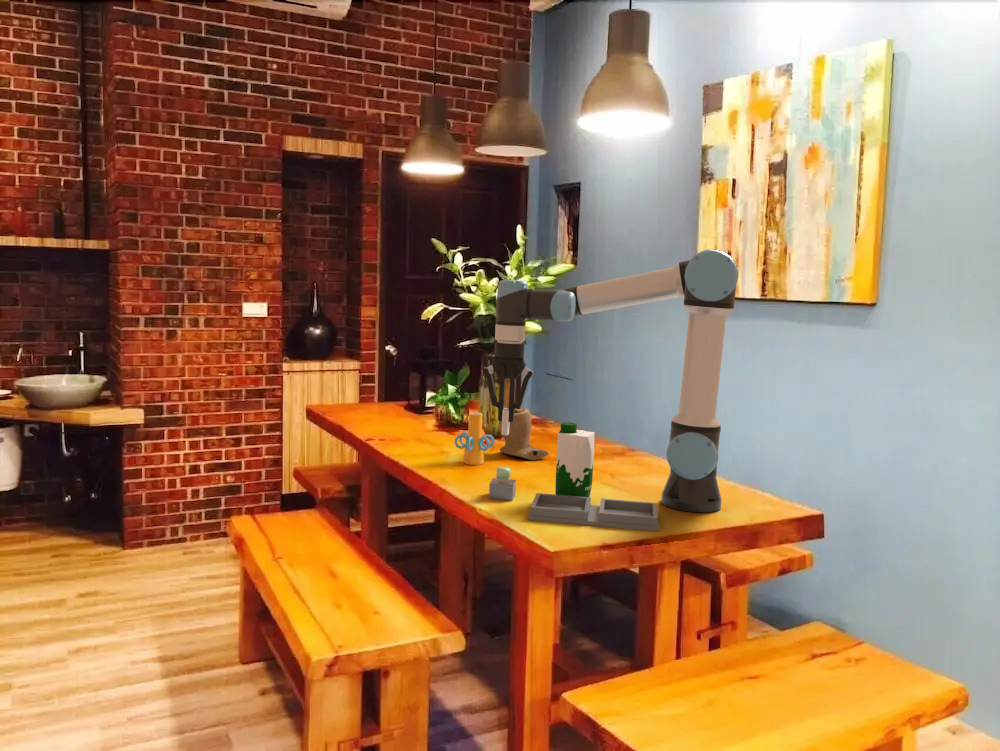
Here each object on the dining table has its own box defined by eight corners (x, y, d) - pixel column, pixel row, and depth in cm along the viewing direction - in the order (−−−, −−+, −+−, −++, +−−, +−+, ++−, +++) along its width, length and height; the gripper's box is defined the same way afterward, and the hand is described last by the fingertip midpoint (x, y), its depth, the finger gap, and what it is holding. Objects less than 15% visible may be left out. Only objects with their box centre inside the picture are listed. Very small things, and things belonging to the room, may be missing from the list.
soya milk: (559, 495, 230) (564, 420, 228) (593, 500, 227) (598, 423, 225) (550, 503, 222) (555, 425, 219) (585, 508, 219) (590, 429, 216)
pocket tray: (656, 514, 216) (657, 502, 216) (658, 531, 202) (659, 518, 202) (535, 504, 221) (535, 492, 220) (528, 519, 206) (529, 507, 206)
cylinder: (457, 467, 257) (459, 416, 255) (450, 459, 267) (452, 410, 265) (498, 466, 260) (500, 416, 258) (489, 459, 270) (491, 410, 268)
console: (515, 494, 229) (516, 479, 228) (512, 500, 223) (513, 485, 222) (492, 493, 229) (493, 478, 229) (488, 498, 224) (489, 483, 223)
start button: (511, 476, 227) (511, 467, 227) (509, 479, 223) (509, 470, 223) (497, 475, 227) (497, 466, 227) (495, 478, 224) (495, 469, 224)
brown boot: (489, 453, 278) (491, 406, 276) (519, 450, 285) (521, 404, 283) (519, 463, 266) (522, 414, 264) (549, 459, 273) (552, 412, 271)
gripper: (537, 342, 224) (532, 433, 227) (486, 339, 226) (482, 429, 229) (534, 344, 217) (529, 438, 219) (481, 341, 218) (477, 435, 221)
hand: (505, 434), depth 224 cm, fingers closed
